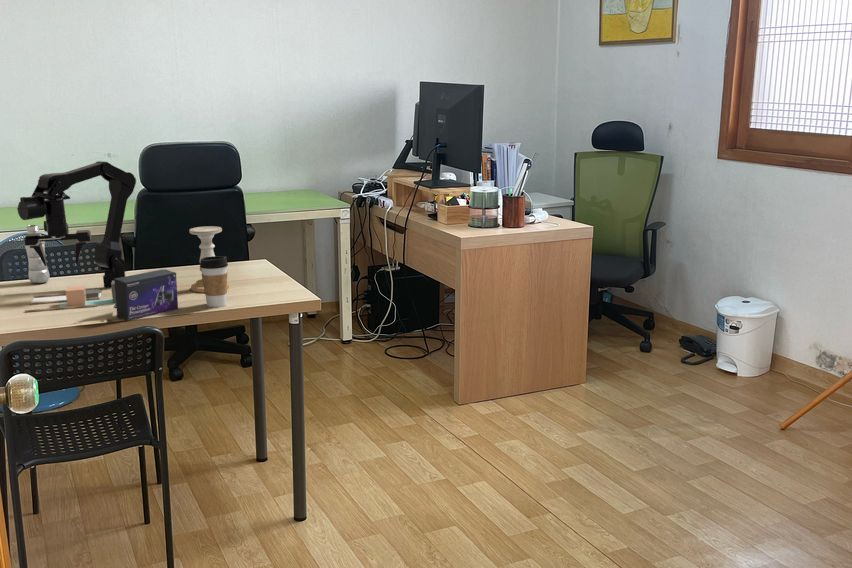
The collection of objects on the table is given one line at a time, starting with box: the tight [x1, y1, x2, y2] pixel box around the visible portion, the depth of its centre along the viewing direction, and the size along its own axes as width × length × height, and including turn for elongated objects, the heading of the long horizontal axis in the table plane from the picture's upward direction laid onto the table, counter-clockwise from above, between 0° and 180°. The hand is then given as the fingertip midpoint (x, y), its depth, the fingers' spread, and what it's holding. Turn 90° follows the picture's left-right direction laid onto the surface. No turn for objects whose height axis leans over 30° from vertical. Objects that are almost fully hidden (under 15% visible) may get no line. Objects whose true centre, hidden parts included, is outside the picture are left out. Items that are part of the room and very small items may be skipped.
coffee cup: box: [199, 255, 229, 308], centre depth 255 cm, size 8×8×15 cm
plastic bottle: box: [23, 224, 50, 284], centre depth 285 cm, size 6×7×20 cm
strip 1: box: [30, 288, 102, 303], centre depth 262 cm, size 20×7×2 cm, turn 107°
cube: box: [65, 285, 88, 307], centre depth 254 cm, size 5×5×5 cm
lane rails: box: [24, 289, 102, 314], centre depth 258 cm, size 20×19×2 cm
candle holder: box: [189, 225, 230, 294], centre depth 274 cm, size 12×12×20 cm
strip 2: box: [58, 280, 116, 308], centre depth 255 cm, size 20×7×7 cm, turn 107°
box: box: [114, 268, 179, 322], centre depth 247 cm, size 17×7×12 cm, turn 139°
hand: (61, 264), depth 260 cm, fingers open, 9 cm apart
